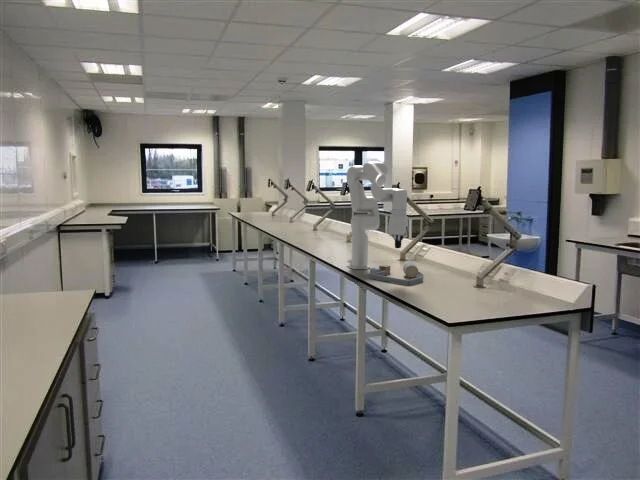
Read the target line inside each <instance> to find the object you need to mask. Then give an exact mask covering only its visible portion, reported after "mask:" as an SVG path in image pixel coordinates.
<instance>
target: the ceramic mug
mask: <svg viewBox="0 0 640 480" xmlns="http://www.w3.org/2000/svg"><path fill="white" fill-rule="evenodd" d="M402 270H403V273H404V274H405V276H406V277H407V278H409V279H414V278H417V277H423V278H424V273H422V272H420V270H419V269H418V266H417V264H415V263H414V262H413V261H408V262H406V263H405V264H404V265H403V267H402Z"/></svg>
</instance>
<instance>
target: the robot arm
mask: <svg viewBox="0 0 640 480" xmlns="http://www.w3.org/2000/svg"><path fill="white" fill-rule="evenodd" d="M388 171H389V170H388V165H387V164H386V163H385V162H383V161H382V162H381V161H368V162H367V161H366V162H365V163H363V165H352V166H350V167H349V168H348V169H347V171H346V183H347V185H348V189H349V195H350V204H351V205H350V206H351V210H352V211H353V212H354V213H360V214H355V215H353V216H352V217H351V219H350V227H351V259H350V258H349V259H348V260H347V261H346V262H347V264H349V265H348V267H349V268H350V269H352V270H353V269H354V270H367V269H369V270H370V269H371V265H369V263H368V261H369V237H368V234H367V233H366V232H367V231H376V230H378V229H379V227H380V221H381V220H380V212H379V211H380V210H379V203H383V204H384V203H389V204H390V203H391V209H390V211H389V212H390V214H391V215H389V220H388V225H387V227H388V228H387V233H388V235H389V236H390V237H392V239H393V240H394V249H401V248H402V241H403V239H404V238H408V234H409V218H408V216H407V206H408V204H407V203H408V190H407V189H403V188H397V187H396V188H394V187H393V188H392V187H383V188H382V186H384V185H385V183H386V181H387V174H388ZM360 181H368V182H370V194H372V196H369V195H368V196H367V195H366V193H365V188H364V186H363V184H362V183H361V182H360ZM361 213H363V214H361ZM364 213H367V214H364Z"/></svg>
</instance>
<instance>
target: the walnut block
mask: <svg viewBox="0 0 640 480" xmlns="http://www.w3.org/2000/svg"><path fill="white" fill-rule="evenodd" d="M378 268H379V269H380V272H381V271H386V275H390V274H391V265H388V264H382V265H379V266H378Z"/></svg>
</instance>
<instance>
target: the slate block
mask: <svg viewBox="0 0 640 480" xmlns="http://www.w3.org/2000/svg"><path fill="white" fill-rule="evenodd" d="M376 272H380V269H379V267H378V268H377V267H372V268H371V267H370V268H369V275H370V274H372V273H376Z"/></svg>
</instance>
